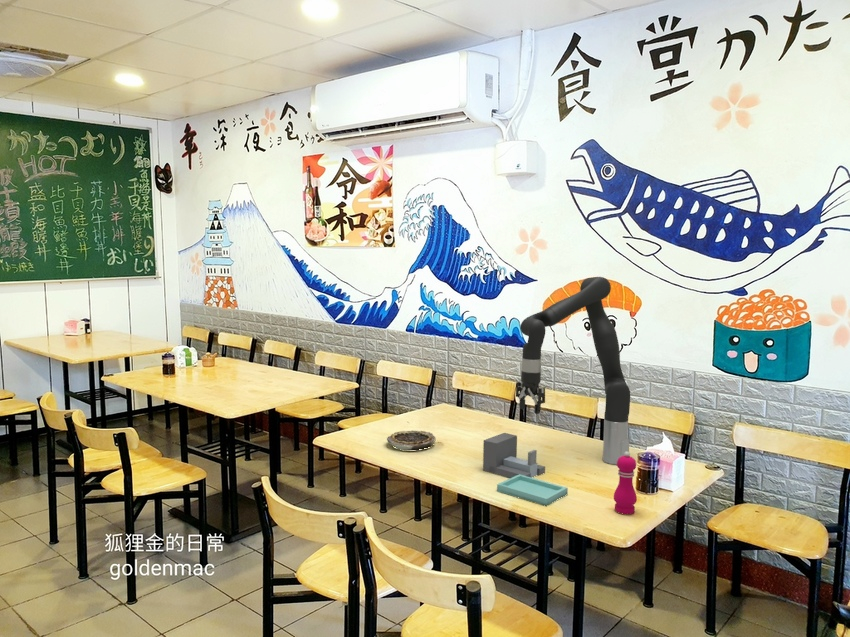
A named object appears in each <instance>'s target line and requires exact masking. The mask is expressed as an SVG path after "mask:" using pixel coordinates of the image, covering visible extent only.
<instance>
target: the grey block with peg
mask: <svg viewBox="0 0 850 637" xmlns="http://www.w3.org/2000/svg"><path fill="white" fill-rule="evenodd" d="M537 452H538V451H537V450H536V449H532V450H530V451H527V459H523V458H520V457H519V458H518V457H517V458H516V457H512V456H510V457H508V458H505V459H503V466H507V467H510V468H514V469H518V470H521V471H525V472H529V473H531V478H532V477H533V478H535V477H537V476H538V475H537V465H538V462H537ZM536 475H537V476H536ZM534 476H535V477H534Z"/></svg>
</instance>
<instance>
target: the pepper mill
mask: <svg viewBox="0 0 850 637" xmlns="http://www.w3.org/2000/svg"><path fill="white" fill-rule="evenodd" d="M630 455H631V453H630V451H629V452H625V453H624V456H621V457H620V458H619V459H618V460H617V465H616V467H617V468H618V470H617V471H618V473H617V474H618V476H619V478H618V479H619V480H618V485H617V486H616V489H615V490H614V493H613V500H614V502H615V504H614V511H615V510H616V511H617V512H616V511H615V512H616V513H618V512H619V513H618V514H620V513H623V514H622V515H625V514H630V515H633V514H635V511H636V510H635V508H636V507H635V504H636V503H637V499H638V498H637V497H638V496H637V492H636V491H635V488H634V483H633V477H634V476H635V471H634V470H635V469H636V468H637V461H636V459H635V458H633V457H632V456H630ZM632 513H633V514H632Z"/></svg>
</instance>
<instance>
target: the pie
mask: <svg viewBox="0 0 850 637" xmlns="http://www.w3.org/2000/svg"><path fill="white" fill-rule="evenodd" d="M386 440H387V441H386V442H388V444H390V445H391V446H392V447H393V446H394V447H396V448H398V449H401V450H419V449H424V448H428V447H431V446H432V445H433V444H435V443H436V442H435V441H436V440H437V437H436V436H435V435H434V434H433V433H431V432H430V431H425V430H406V431H405V430H401V431H396V432H394V433H392V434H390V436H389V435H388V436H387V437H386ZM433 446H434V445H433ZM433 446H432V447H433ZM432 447H431V448H432ZM396 448H395V449H396ZM398 449H397V450H398Z"/></svg>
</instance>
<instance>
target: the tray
mask: <svg viewBox="0 0 850 637" xmlns="http://www.w3.org/2000/svg"><path fill="white" fill-rule="evenodd" d="M568 490H569V489H568V487H567V486H563V485H559V484H557V483H553V482H552V483H551V482H549V481H545V480H541V479H538V478H535V477H533V478H531V477H527V476H524V475H520V474H519V475H517V476H514V477H512V478H508V479H506V480H503V481H501V482H499V483H498V484H496V491H497V492H498V493H501V492H502V494H506V495H508V496H511V495H512V497H514V496H516V498H518V497H519V499H521V498H522V500H524V499H525V501H528V502H531V501H532V502H531V503H534V502H536V503H535V504H537V503H539V504H538V505H541V504H542V505H541V506H544V505H545V507H548V506H550V505H551V504H553V503H555V502H556V500H557V499H559V498H560V499H562V498H564V497H566V496H567V495H568ZM566 494H567V495H566ZM565 495H566V496H565ZM563 496H564V497H563ZM561 497H562V498H561ZM560 499H559V500H560ZM554 501H555V502H554ZM557 501H558V500H557ZM552 502H553V503H552ZM550 503H551V504H550ZM549 504H550V505H549ZM547 505H548V506H547Z"/></svg>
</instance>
